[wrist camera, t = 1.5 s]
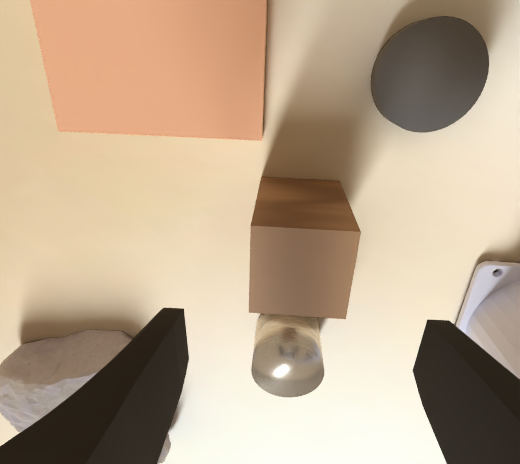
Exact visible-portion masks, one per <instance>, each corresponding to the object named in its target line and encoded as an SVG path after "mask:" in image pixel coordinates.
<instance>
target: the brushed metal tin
mask: <svg viewBox="0 0 520 464" xmlns="http://www.w3.org/2000/svg"><path fill="white" fill-rule="evenodd" d="M251 370H252V376H253V378H254V380H255V382H256V383H257V384H258V386H259V387H261V388H262V389H263V390H265V391H266V392H268V393H270V394H273V395H276V396H281V397H298V396H302V395H305V394H308V393H310V392H312V391H313V390H315V389H316V388H317V387H318V386H319V385H320V383H321V382H322V380H323V377H324V366H323V358H322V349H321V341H320V332H319V325H318V321H317V319H316V318H315V317H308V316H294V315H279V314H265V313H262V314H261V316H260V317H259V319H258V321H257V326H256V334H255V343H254V352H253V360H252V369H251Z"/></svg>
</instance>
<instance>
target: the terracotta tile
mask: <svg viewBox="0 0 520 464" xmlns="http://www.w3.org/2000/svg"><path fill="white" fill-rule="evenodd" d="M30 1H31V6H32V11H33V15H34V20H35V25H36V29H37V34H38V38H39V43H40V48H41V52H42V57H43V62H44V66H45V71H46V76H47V80H48V85H49V90H50V94H51V99H52V104H53V108H54V113H55V117H56V122H57V127H58V131H64V132H86V133H108V134H130V135H152V136H174V137H196V138H217V139H239V140H261V141H262V138H263V112H264V82H265V53H266V23H267V0H30Z"/></svg>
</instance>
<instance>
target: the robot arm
mask: <svg viewBox="0 0 520 464" xmlns="http://www.w3.org/2000/svg"><path fill="white" fill-rule="evenodd" d="M496 269H499V270H498V271H497V272H495V273H493V271H494V270H496ZM188 360H189V356H188V346H187V336H186V327H185V317H184V309H179V308H163V309H162V310H161V311H160V312H159V313H158V314H157V315H156V316H155V317H154V318H153V319H152V320H151V321H150V322H149V323H148V324H147V325H146V326H145V327H144V328H143V329H142V330H141V331H140V332H139V333H138V334H137V335H136V336H135V337H134V338H133V339H132V341H130V342H129V343H128V344H127V345H126V346H125V347H124V348H123V349H122V350H121V351H120V352H119V353H118V354H117V355H116V356H115V357H114V358H113V359H112V360H111V361H110V362H109V363H108V364H107V365H105V366H104V367H103V368H102V369H101V370H100V371H99V372H98V373H96V374H95V375H94V376H93V377H92V378H91V379H90V380H89V381H87V382H86V383H85V384H84V385H83V386H82V387H80V388H79V389H78V390H77V391H76V392H74V393H73V394H72V395H71V396H70V397H68V398H67V399H66V400H65V401H63V402H62V403H61V404H59V405H58V406H57V407H56V408H54V409H53V410H52V411H50V412H49V413H48V414H46V415H45V416H44V417H42V418H41V419H39V420H38V421H37V422H35V423H34V424H32V425H31V426H29V427H28V428H26V429H25V430H24V431H22V432H21V433H19V434H18V435H16V436H15V437H13V438H12V439H10V440H9V441H8V442H6V443H5V444H3V445H2V446H0V464H157V463H158V460H159V457H160V454H161V451H162V448H163V445H164V442H165V440H166V437H167V434H168V431H169V428H170V425H171V422H172V419H173V416H174V413H175V410H176V407H177V404H178V401H179V398H180V395H181V392H182V388H183V384H184V379H185V375H186V370H187V365H188ZM413 373H414V376H415V380H416V384H417V388H418V391H419V395H420V398H421V401H422V405H423V407H424V410H425V412H426V415H427V417H428V420H429V422H430V424H431V427H432V429H433V432H434V434H435V436H436V439H437V441H438V443H439V446H440V448H441V451H442V453H443V455H444V458H445V460H446V462H447V464H520V263H512V262H495V261H484V262H482V263H480V264H479V265H477V267H476V269H475V272H474V275H473V277H472V280H471V283H470V286H469V289H468V292H467V295H466V297H465V300H464V303H463V306H462V309H461V312H460V314H459V317H458V320H457V323H456V326H455V325H454V324H452V323H451V322H450V321H445V320H427V323H426V327H425V330H424V333H423V337H422V340H421V344H420V347H419V351H418V354H417V358H416V361H415V365H414V368H413Z"/></svg>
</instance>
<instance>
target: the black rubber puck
mask: <svg viewBox="0 0 520 464" xmlns="http://www.w3.org/2000/svg"><path fill="white" fill-rule="evenodd" d="M488 69H489V56H488V50H487V47H486V44H485V42H484V40H483V38H482V36H481V35H480V33H479V32H478V31H477V30H476V29H475V28H474V27H473V26H472V25H471V24H469V23H468V22H466V21H464V20H461V19H459V18H455V17H448V16H442V17H434V18H429V19H426V20H422V21H418V22H416V23H413V24H410V25H408V26H406V27H404V28H403V29H401V30H400V31H398V32H397V33H396V34H395V35H393V36H392V37H391V38H390V39H389V40H388V41H387V43H386V44H385V45H384V46H383V48H382V49H381V51H380V53H379V54H378V56H377V59H376V61H375V63H374V66H373V70H372V75H371V92H372V97H373V100H374V102H375V105H376V107H377V108H378V110H379V111H380V113H381V114H382V115H383V116H384V117H385V118H387V119H388V120H389V121H391V122H393V123H394V124H396V125H398V126H399V127H401V128H403V129H406V130H409V131H413V132H431V131H436V130H440V129H442V128H445V127H447V126H449V125H451V124H453V123H454V122H456V121H457V120H459V119H460V118H461V117H463V116H464V115H465V114H466V113H467V112H468V111H469V110H470V109H471V108H472V106H473V105H474V104H475V102H476V101H477V99H478V98H479V96H480V95H481V92H482V90H483V88H484V86H485V83H486V80H487V75H488Z"/></svg>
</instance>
